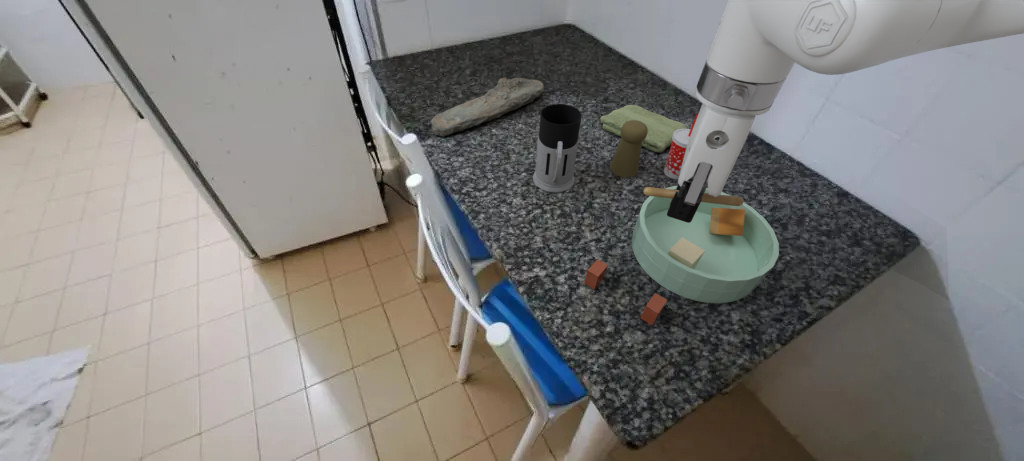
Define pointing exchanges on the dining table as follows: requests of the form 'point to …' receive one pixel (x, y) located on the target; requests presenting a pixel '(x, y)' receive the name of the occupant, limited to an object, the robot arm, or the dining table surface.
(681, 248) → the cream block
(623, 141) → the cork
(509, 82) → the elongated grey stone
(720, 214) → the amber block
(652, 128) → the washcloth
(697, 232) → the bowl
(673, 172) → the beverage cup
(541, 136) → the glass holder
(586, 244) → the dining table surface
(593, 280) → the red blocks
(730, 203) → the tan wooden rod
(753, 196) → the dining table surface
